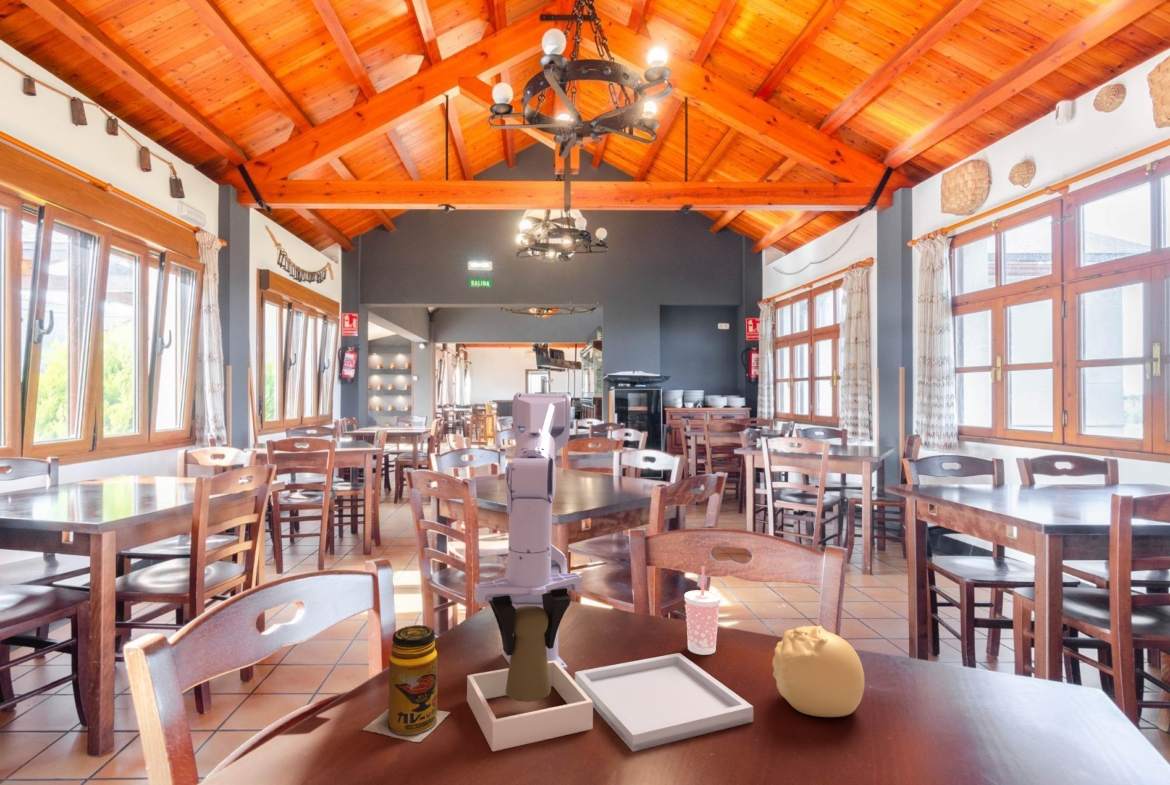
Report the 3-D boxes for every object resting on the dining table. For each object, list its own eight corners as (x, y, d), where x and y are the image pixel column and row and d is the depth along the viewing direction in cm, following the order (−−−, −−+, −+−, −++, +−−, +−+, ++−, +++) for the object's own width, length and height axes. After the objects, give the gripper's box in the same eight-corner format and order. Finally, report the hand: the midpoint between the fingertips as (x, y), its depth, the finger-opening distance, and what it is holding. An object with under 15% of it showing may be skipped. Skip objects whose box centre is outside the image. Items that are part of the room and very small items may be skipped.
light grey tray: (574, 685, 91) (574, 672, 91) (679, 665, 99) (679, 652, 99) (632, 751, 75) (633, 735, 75) (753, 721, 82) (753, 706, 82)
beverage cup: (712, 659, 101) (714, 573, 101) (677, 650, 104) (679, 567, 104) (725, 647, 106) (726, 565, 106) (691, 638, 109) (692, 559, 109)
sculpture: (773, 680, 94) (774, 609, 94) (860, 695, 90) (861, 620, 90) (769, 718, 83) (770, 637, 83) (867, 736, 79) (869, 651, 79)
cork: (544, 704, 80) (545, 618, 79) (499, 699, 81) (500, 614, 81) (555, 682, 85) (556, 602, 85) (513, 677, 87) (514, 599, 86)
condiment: (420, 743, 76) (421, 645, 76) (361, 731, 78) (363, 636, 78) (450, 714, 83) (452, 624, 83) (395, 703, 85) (397, 616, 85)
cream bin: (466, 700, 86) (467, 675, 86) (555, 683, 92) (555, 660, 92) (492, 751, 74) (492, 722, 74) (592, 728, 80) (593, 701, 80)
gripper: (484, 560, 76) (482, 670, 76) (591, 550, 82) (590, 652, 82) (470, 546, 83) (469, 648, 83) (571, 537, 89) (569, 632, 89)
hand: (528, 649), depth 83 cm, fingers closed on cork, 5 cm apart
